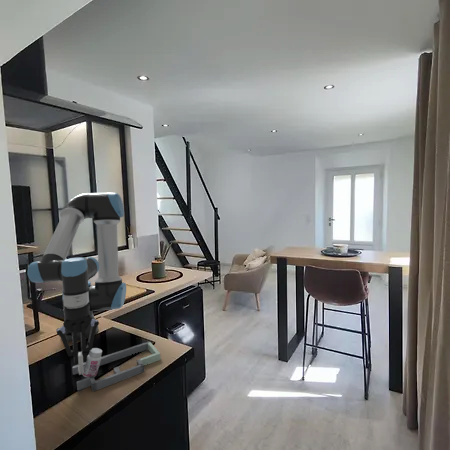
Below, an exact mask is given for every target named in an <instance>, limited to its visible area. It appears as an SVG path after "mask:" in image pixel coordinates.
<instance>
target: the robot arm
mask: <svg viewBox="0 0 450 450" xmlns="http://www.w3.org/2000/svg"><path fill="white" fill-rule="evenodd" d="M124 215H125V210H124V204H123V200H122V197H121V195H120V194H119V193H117V192H109V191H108V192H86V193H81V194H78V195H76V196H74V197H72V198H71V199H70V200H69V201H68V202H66V204H65V205H64V206H63V208H62V210H61V211H60V219H59V222H58V224H57V225H56V227H55V231H54V232H53V234H52V235H51V238H50V241H49V243H48V245H47V247H46V248H45V251H44V253H43V256H42V257H41V258H40V260H39V261H38V260H37V261H33V262H31V263H30V264H29V265H28V268H27V276H28V279H29V281H30V282H31V283H38V284H39V283H53V282H62V283H61V284H62V298H61V301H62V308H63V315H64V321H63V322H62V323H63V325H61V326H60V327H58V328H56V330H55V331H56V335H58V336H59V337H60V339H61V342H62V343H63V346H64V349H65V351H66V354H67V356H68V357H73V363H74V366H76V365H78V371H79V373H78V375H79V376H80V375H82V374H83V373H84V367H83V363H85V362H86V361H87V354H88V353H89V352H90V350H92V348H93V345H94V340H95V336H96V334H97V333H98V331H99V324H100V322H99V320H98V319H96V317H95V316H94V312H95V311H105V310H106V311H109V310H110V311H112V310H117V309H121V308H122V307H123V306H124V303H125V300H126V295H127V284H126V283H125V282H123V277H121V276H120V275H119V251H118V249H119V246H118V245H119V244H118V224H119V223H120V222H121V218H123V217H124ZM86 219H93V220H92V221H93V223H94V224H95V225H96V227H97V228H96V230H97V231H96V233H97V234H96V235H97V259H96V258H95V257H92V256H87V257H85V256H84V257H70V258H67V256H68V254H69V251H70V249H71V247H72V244H73V242H74V239H75V237H76V235H77V232H78V230H79V227H80V225H81V224H83V222H84V221H85V220H86ZM97 273H98V278H96V279H95V280H94V284H92V283H91V281H89V280H90V279H92V278H94V277H95V276H96V275H97ZM87 339H88V341H87ZM78 341H80V348H81V349H80V350H81V351H79V347H78V346H79V344H78ZM69 342H72V348H71V347H70V344H69Z"/></svg>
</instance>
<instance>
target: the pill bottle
mask: <svg viewBox="0 0 450 450" xmlns="http://www.w3.org/2000/svg"><path fill="white" fill-rule="evenodd" d="M102 354H103V350H102V349H101V348H98V347H92V350H90V351H88V355H86V358H87V361H86V362H84V363H85V366H84V373H83V374H81V375H82V376H83V377H84V378H88V377H91V376H94V378H95V377H96V376H97V374H98V371H99V368H100V366H99V365H100V362H101V357H102Z"/></svg>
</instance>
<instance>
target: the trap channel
mask: <svg viewBox="0 0 450 450" xmlns="http://www.w3.org/2000/svg"><path fill="white" fill-rule="evenodd" d="M147 350H148V351H149V352H150V353H151V354H150V355H147V356H144V357H142V358H138V359H136V365H135V366H132V367H129V368H127V369H125V370H122V371H121V370H120V368H119V366H116V367H113V374H111V375H108V376H104V377H103V378H100V379H98V380H96V379H95V377H94V376H91V377H88V378H87V377H84V378H82V379H79V380H78V381H76V387H77V388H76V389H77V391H81V390H83V389H86V388H89V387H90V388H91V391H92V392H96V391H98V390H101V389H103V388H105V387H108V386H111V385H114V384H116V383H120V382H122V381H124V380H126V379H129V378H132V377H134V376H137V375H140V374H142V373H144V372H145V366H148V365H149V364H153V363H156V362H158V361H161V353H160V351H158V349H157V348H156V347H155V346H154V345H153V344H152V342H151V341H147V342H142V343H140V344H137V345H134V346H131V347H127V348H125V349H123V350H119V351H116V352H112V353H110V354H106V355H103V356H101V362H100V365H99V367H100V366H103V365H106V364H109V363H112V362H115V361H118V360H121V359H124V358H127V357H129V356H133V355H135V353H136V354H138V352H139V353H141V352H145V351H147ZM132 354H133V355H132ZM147 364H148V365H147ZM144 365H145V366H144ZM84 366H85V362H84V363H83V367H84ZM77 374H78V375H79V371H78V365H73V366H72V375H74V376H75V375H77Z"/></svg>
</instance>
